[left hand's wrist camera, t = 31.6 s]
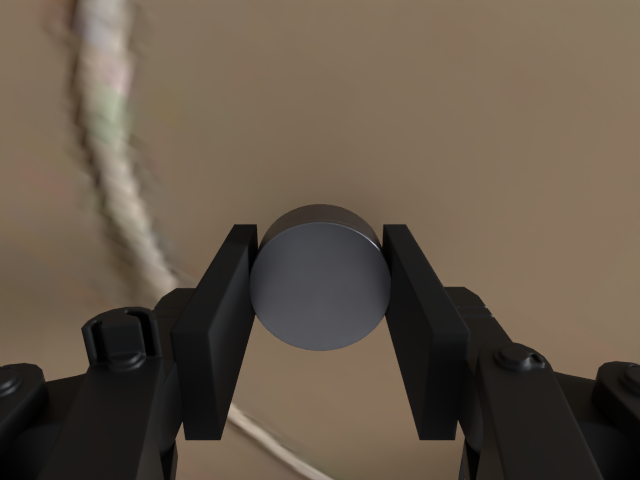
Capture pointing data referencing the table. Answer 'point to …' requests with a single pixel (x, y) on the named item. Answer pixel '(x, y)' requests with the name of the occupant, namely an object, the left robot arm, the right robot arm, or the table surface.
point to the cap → (320, 278)
